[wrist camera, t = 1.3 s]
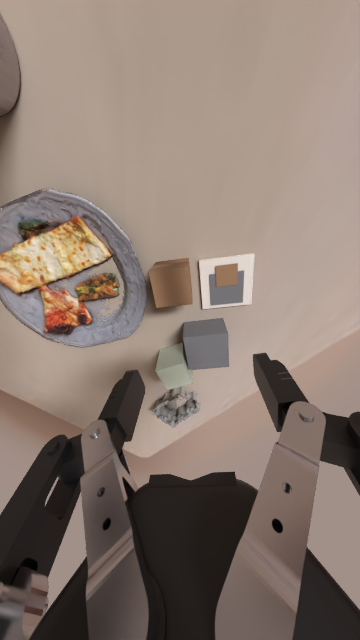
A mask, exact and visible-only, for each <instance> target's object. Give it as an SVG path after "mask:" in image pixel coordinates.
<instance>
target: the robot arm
mask: <svg viewBox="0 0 360 640" xmlns="http://www.w3.org/2000/svg"><path fill="white" fill-rule="evenodd" d="M19 86H20V70H19V64H18V58H17V54H16V50H15V47H14V44H13V40H12V38H11V35H10V33H9V31H8V28H7V26H6V24H5V22H4V20H3V18H2V17H1V15H0V116H2V115H4V114H6V113H7V112H9V111H10V110H11V109H12V107H13V106H14V105H15V102H16V100H17V97H18V93H19ZM253 365H254V376H255V379H256V382H257V385H258V387H259V389H260V391H261V394H262V397H263V399H264V401H265V404H266V406H267V409H268V411H269V413H270V416H271V418H272V420H273V423H274V425H275V428H276V430H277V432H281V434H280V437H279V440H278V442H277V443H275V445H274V447H273V450H272V453H271V456H270V459H269V462H268V465H267V467H266V470H265V473H264V476H263V479H262V482H261V485H260V488H259V491H258V490H257V489H255V488H254V487H253V486H251V485H249V484H248V483H245V482H244V481H241V480H238V479H236V477H235V472H219V473H218V472H217V473H210V474H208V475H205V476H202V477H200V478H197V479H194V480H187V479H183V478H180V477H177V476H174V475H171V474H162V475H150V479H149V483H147V484H145V485H143V486H142V487H141V488H139V489H138V487H137V485H136V483H135V481H134V478H133V476H132V473H131V470H130V467H129V464H128V461H127V458H126V455H125V452H124V449H123V444H124V442H128V441H131V440H132V436H133V433H134V429H135V426H136V422H137V419H138V415H139V412H140V408H141V405H142V401H143V398H144V394H145V386H144V383H143V381H142V379H141V376H140V374H139V372H138V370H132V371H126V372H125V374H124V376H123V379H120V380H119V381H118V382H117V383H116V384H115V385H114V387H113V389H112V392H111V394H110V396H109V399H108V400H107V402H106V404H105V406H104V408H103V410H102V412H101V414H100V416H99V418H98V420H97V421H94V422H93V423H91V424H90V425H89V426H88V427H87V428H86V429H85V430H84V432H83V434H81V435H78V436H75V437H73V438H70V439H68V438H67V437H66V436H65V435H58V436H56V437H54V438H53V439H51V440H50V441H49V442H48V443H47V444H46V445H45V446H44V447H43V448H42V450H41V452H40V453H39V455H38V456H37V458H36V460H35V461H34V463H33V464H32V466H31V468H30V469H29V471H28V472H27V474H26V475H25V477H24V478H23V480H22V482H21V483H20V485H19V486H18V488H17V490H16V491H15V493H14V495H13V496H12V497H11V499H10V501H9V502H8V504H7V505H6V507H5V509H4V510H3V512H2V513H1V515H0V640H360V610H359V608H358V607H357V606H356V605H355V604H354V603H353V601H352V600H351V599H350V598H349V597H348V595H347V594H346V593H345V592H344V591H343V589H342V588H341V587H340V586H339V585H338V583H337V582H336V581H335V580H334V579H333V577H332V576H331V575H330V574H329V573H328V572H327V570H326V569H325V568H324V567H323V566H322V564H321V563H320V562H319V561H318V560H317V558H316V557H315V556H314V555H313V554H312V552H311V551H310V550H309V549H308V548H307V541H308V535H309V528H310V522H311V516H312V509H313V503H314V496H315V491H316V484H317V478H318V471H319V461H324V462H327V463H330V464H334V465H337V466H341V467H344V469H345V471H346V472H347V474H348V476H349V478H350V480H351V481H352V483H353V485H354V486H355V488H356V490H357V492H358V494H359V495H360V412H355V413H352V414H351V415H350V417H349V418H347V417H342V416H336V415H331V414H327V413H324V412H322V411H321V410H320V409H318V408H317V407H316V406H314V405H312V404H310V403H309V402H308V400H307V399H306V397H305V396H304V394H303V393H302V391H301V390H300V389H299V387H298V385H297V384H296V382H295V381H294V379H292V376H291V375H290V373H289V372H288V370H287V369H286V367H285V366H284V365H283V364H282V363H280V362H279V361H278V360H270V359H269V357H268V355H267V354H266V353H260V354H253ZM57 477H58V478H59V480H58V481H57V484H56V486H55V488H54V490H53V492H52V494H51V496H50V498H49V500H48V502H47V504H46V506H45V501H46V498H47V496H48V494H49V492H50V490H51V488H52V486H53V484H54V482H55V480H56V478H57ZM80 492H81V496H82V507H83V517H84V529H85V540H86V550H87V557H86V558H85V560H84V561H83V563H82V564H81V565H80V567H79V568H78V569H77V571H76V572H75V573H74V575H73V576H72V577H71V579H70V580H69V582H68V583H67V584H66V586H65V587H64V589H63V590H62V591H61V593H60V594H59V595H58V597H57V598H56V600H55V601H54V602H53V604H52V605H51V606H50V608H49V609H48V611H47V612H46V610H47V607H48V597H47V595H48V588H49V587H48V576H49V573H50V571H51V568H52V565H53V563H54V560H55V557H56V555H57V552H58V550H59V547H60V545H61V542H62V539H63V537H64V534H65V531H66V529H67V526H68V524H69V521H70V518H71V515H72V513H73V510H74V508H75V505H76V503H77V500H78V497H79V495H80Z"/></svg>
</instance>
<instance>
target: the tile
mask: <svg viewBox="0 0 360 640" xmlns="http://www.w3.org/2000/svg"><path fill="white" fill-rule="evenodd" d="M199 269H200V282H201V295H202V307H203V309H209V308H219V307H229V306H239V305H249V304H251V299H252V284H253V269H254V253H251V254H243V255H235V256H228V257H220V258H212V259H204V260H199Z"/></svg>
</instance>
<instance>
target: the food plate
mask: <svg viewBox="0 0 360 640" xmlns="http://www.w3.org/2000/svg"><path fill="white" fill-rule="evenodd" d="M42 190H44V189H42ZM42 190H39V191H40V192H39V191H36V192H37V193H36V192H33V193H34V194H33V193H31V194H28V195H29V196H28V195H26V196H23V197H21V198H19V199H16V200H14V201H12V202H9V203H7V204H5V205H6V206H5V205H3V206H2V207H0V299H1V301H2V303H3V304H4V306H5V307H6V309H8V311H10V312H11V313H12V314H13V315H14V316H15V317H16V319H18V320H19V321H20V322H21V323H23V324H24V325H25V326H27V327H28V328H30V329H31V330H33V331H35V332H36V333H37V334H39V335H41V336H42V337H44V338H46V339H47V340H50V341H54V342H57V343H58V342H59V343H63V344H64V345H68V346H76V347H80V348H81V347H82V348H83V347H88V346H93V345H98V344H102V343H106V342H111V341H115V340H118V339H121V338H122V339H123V338H126V337H128V336H129V335H131V334H132V333H133V332H134V331H135V330H136V329H137V328H138V326H139V324H140V322H141V321H142V317H143V315H144V314H143V313H144V312H143V311H144V308H145V304H146V300H147V299H146V297H147V295H146V284H145V283H146V282H145V279H144V275H143V272H142V268H141V266H140V264H139V261H138V258H137V255H136V252H135V250H134V249H133V245H132V243H131V241H130V239H129V237H128V236H127V235H126V233H125V232H124V231H123V230H122V229H121V228H120V227H119V226H118V225H116V223H115V222H114V221H113V220H112V218H110V216H108V215H107V214H105V213H104V212H103V211H102V209H100V208H98V207H97V206H95V205H94V204H93V203H91V202H90V201H87V200H85V199H83V198H81V197H80V196H77V195H73V194H72V193H70V194H69V193H66V192H61V191H57V190H55V189H52V190H51V189H48V190H47V189H46V190H45V191H43V192H42ZM111 256H112V257H113V260H114V262H115V264H116V266H117V268H118V270H119V273H120V275H121V278H122V280H123V282H124V291H123V293H124V296H123V298H122V299H123V303H122V304H121V305H119V307H120V308H119V310H118V309H115V311H113V312H112V314H115V315H114V316H112V315H111V314H110V313H109V315H111V316H110V317H109V318H108V316H104V318H106V319H108V320H107V321H103V320H106V319H104V318H100V317H103V316H102V315H100V316H98V315H97V314H102V313H101V312H100V311H99V310H102V309H105V310H108V309H110V308H108V306H109V305H108V306H105V307H104V306H103V305H104V303H105V302H103V301H106V298H104V297H114V296H118V295H120V294H119V293H118V287H119V286H120V284H119V280H118V279H117V278H116V275H115V274H114V273H112V274H111V273H109V274H108V273H103V274H100V275H95V276H96V277H95V276H93V275H92V277H91V276H90V275H89V276H88V275H86V274H85V273H88V272H89V271H91V270H92V269H94V268H95V267H99V266H100V264H103V263H104V262H106V261H107V262H108V260H107V259H108V258H110V257H111ZM94 265H95V266H94ZM84 272H85V273H84ZM69 283H70V284H69ZM56 287H58V288H59V290H56V289H55V288H56ZM109 299H110V298H108V300H109ZM119 300H120V299H119ZM97 311H98V312H97ZM96 316H97V317H96ZM95 318H96V319H97V320H95ZM100 320H101V321H100ZM102 322H103V323H102ZM92 323H94V324H92ZM99 327H100V328H99Z"/></svg>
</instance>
